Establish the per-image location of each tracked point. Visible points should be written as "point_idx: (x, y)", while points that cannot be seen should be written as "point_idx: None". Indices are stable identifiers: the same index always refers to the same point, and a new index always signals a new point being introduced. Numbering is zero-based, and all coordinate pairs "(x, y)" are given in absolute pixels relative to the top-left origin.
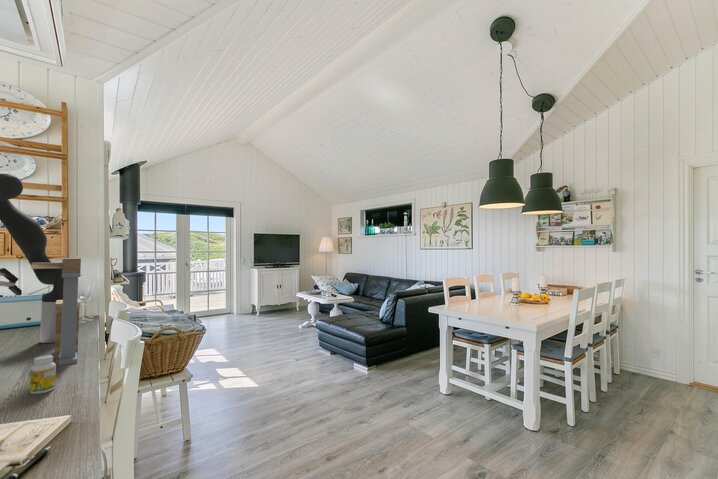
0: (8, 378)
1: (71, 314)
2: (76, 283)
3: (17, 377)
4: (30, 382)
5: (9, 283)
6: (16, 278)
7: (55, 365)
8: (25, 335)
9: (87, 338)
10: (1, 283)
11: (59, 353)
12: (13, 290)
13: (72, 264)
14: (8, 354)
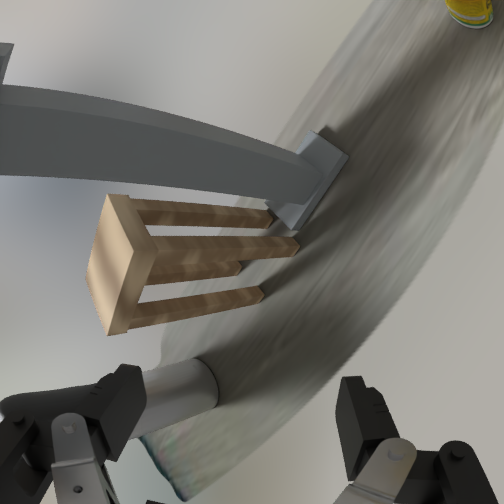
0: (467, 185)
1: (188, 123)
2: (37, 89)
3: (453, 167)
4: (490, 2)
5: (65, 447)
6: (10, 421)
7: None
8: (196, 460)
9: None
10: (87, 497)
11: (285, 237)
12: (121, 416)
13: None
14: (296, 408)
